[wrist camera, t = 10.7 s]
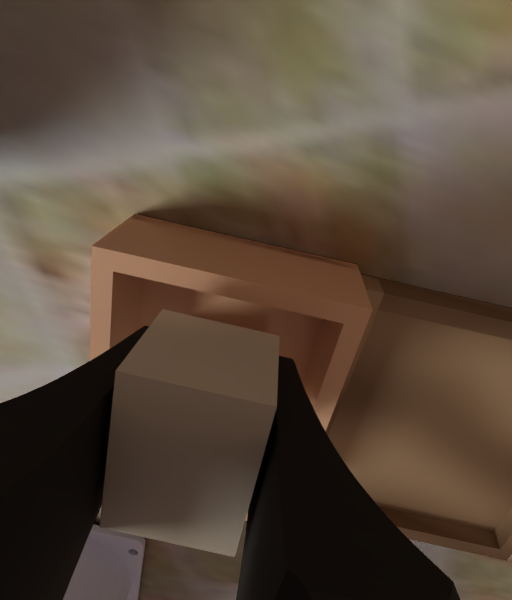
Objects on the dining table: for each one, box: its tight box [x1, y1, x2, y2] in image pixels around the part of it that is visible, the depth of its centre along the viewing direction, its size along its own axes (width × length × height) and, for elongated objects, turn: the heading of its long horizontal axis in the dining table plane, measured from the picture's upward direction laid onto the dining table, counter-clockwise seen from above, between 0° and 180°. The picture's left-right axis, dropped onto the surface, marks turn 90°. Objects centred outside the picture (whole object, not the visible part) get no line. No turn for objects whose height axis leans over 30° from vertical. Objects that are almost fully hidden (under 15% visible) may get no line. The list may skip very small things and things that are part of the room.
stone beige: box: [100, 309, 280, 557], centre depth 10 cm, size 4×3×3 cm
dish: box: [90, 214, 373, 521], centre depth 14 cm, size 10×8×3 cm
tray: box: [326, 274, 512, 560], centre depth 16 cm, size 11×10×1 cm
